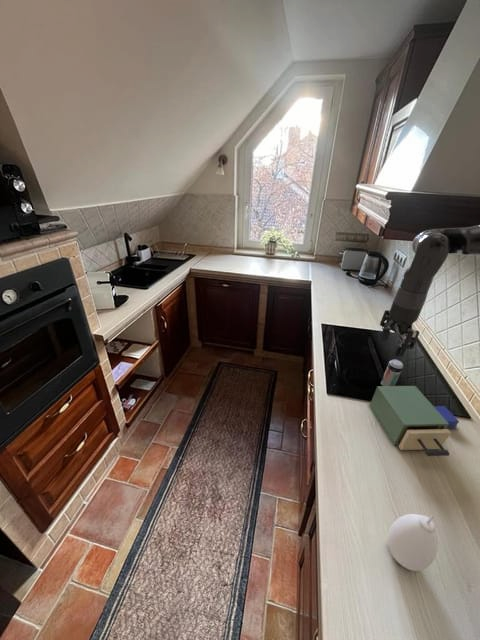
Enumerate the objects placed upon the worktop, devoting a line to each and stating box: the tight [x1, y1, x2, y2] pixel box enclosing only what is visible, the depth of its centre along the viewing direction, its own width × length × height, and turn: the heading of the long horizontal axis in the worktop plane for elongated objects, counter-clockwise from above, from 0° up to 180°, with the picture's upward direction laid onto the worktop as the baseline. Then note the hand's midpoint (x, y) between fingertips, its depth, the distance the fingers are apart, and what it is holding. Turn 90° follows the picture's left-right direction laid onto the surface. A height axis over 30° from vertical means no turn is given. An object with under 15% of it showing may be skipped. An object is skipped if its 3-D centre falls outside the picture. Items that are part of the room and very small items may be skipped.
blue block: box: [433, 405, 460, 429], centre depth 88 cm, size 6×4×4 cm
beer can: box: [380, 358, 404, 386], centre depth 100 cm, size 5×5×12 cm
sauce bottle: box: [387, 513, 439, 572], centre depth 52 cm, size 8×8×18 cm
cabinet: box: [369, 385, 449, 446], centre depth 84 cm, size 16×14×10 cm
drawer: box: [398, 426, 452, 457], centre depth 80 cm, size 20×13×8 cm, turn 2°
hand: (390, 347), depth 82 cm, fingers open, 8 cm apart
